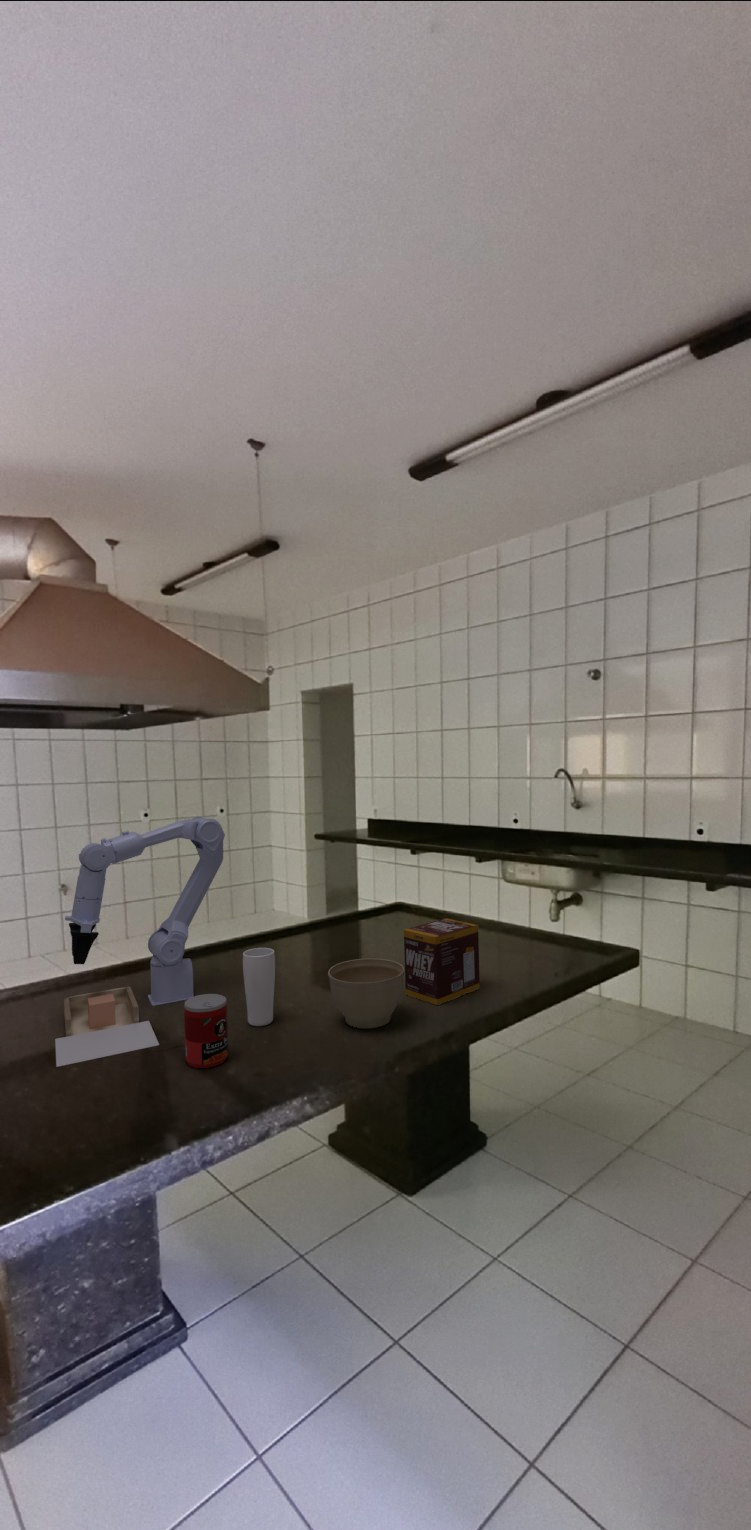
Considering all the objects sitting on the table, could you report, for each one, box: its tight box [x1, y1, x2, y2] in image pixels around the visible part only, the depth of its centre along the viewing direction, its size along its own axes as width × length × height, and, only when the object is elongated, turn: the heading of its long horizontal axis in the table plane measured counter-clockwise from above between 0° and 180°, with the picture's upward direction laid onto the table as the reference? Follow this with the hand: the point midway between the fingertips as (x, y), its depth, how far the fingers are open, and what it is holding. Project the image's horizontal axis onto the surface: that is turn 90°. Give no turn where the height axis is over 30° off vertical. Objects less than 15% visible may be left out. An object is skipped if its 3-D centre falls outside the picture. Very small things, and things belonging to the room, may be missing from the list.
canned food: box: [183, 993, 229, 1069], centre depth 120 cm, size 8×8×11 cm
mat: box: [54, 1020, 160, 1068], centre depth 128 cm, size 18×14×1 cm
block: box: [88, 994, 116, 1029], centre depth 137 cm, size 5×5×5 cm
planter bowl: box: [327, 958, 405, 1029], centre depth 136 cm, size 16×16×11 cm
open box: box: [63, 985, 140, 1037], centre depth 141 cm, size 14×15×4 cm
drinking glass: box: [242, 947, 276, 1027], centre depth 137 cm, size 7×7×15 cm
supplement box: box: [403, 918, 481, 1005], centre depth 152 cm, size 10×15×16 cm
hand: (78, 959), depth 142 cm, fingers open, 7 cm apart
